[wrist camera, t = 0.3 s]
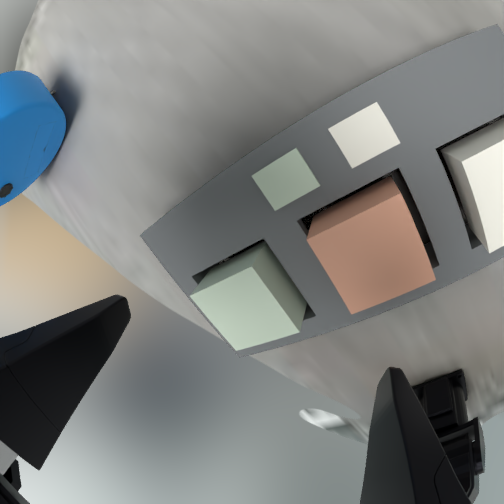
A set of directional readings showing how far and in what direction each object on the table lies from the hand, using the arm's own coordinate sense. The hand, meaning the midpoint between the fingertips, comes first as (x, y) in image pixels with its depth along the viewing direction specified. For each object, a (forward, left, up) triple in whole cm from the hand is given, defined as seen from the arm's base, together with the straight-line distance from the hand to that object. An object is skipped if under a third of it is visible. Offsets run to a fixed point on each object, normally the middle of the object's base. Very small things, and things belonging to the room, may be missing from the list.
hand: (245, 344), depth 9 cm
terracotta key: (-3, -3, -11) cm, 12 cm away
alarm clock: (+21, +17, -14) cm, 30 cm away
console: (-2, -3, -14) cm, 14 cm away
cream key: (-3, -12, -11) cm, 17 cm away
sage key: (-3, +6, -11) cm, 13 cm away
